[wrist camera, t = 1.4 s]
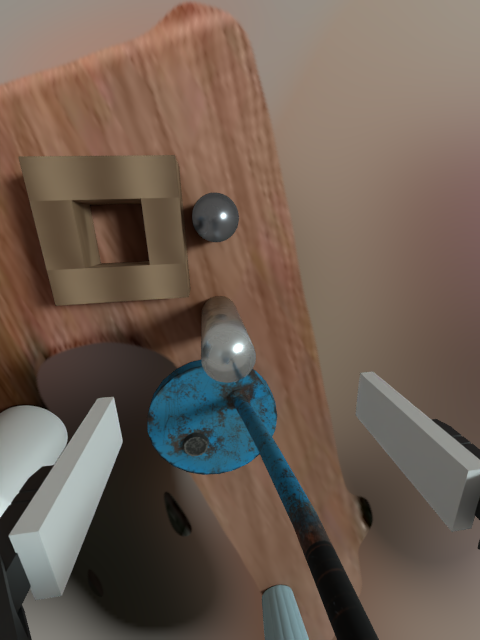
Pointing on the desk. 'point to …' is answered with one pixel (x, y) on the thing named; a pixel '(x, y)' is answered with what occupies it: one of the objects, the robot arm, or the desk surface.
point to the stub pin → (215, 217)
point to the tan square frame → (79, 235)
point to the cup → (282, 615)
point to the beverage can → (27, 447)
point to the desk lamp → (238, 450)
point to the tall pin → (225, 342)
